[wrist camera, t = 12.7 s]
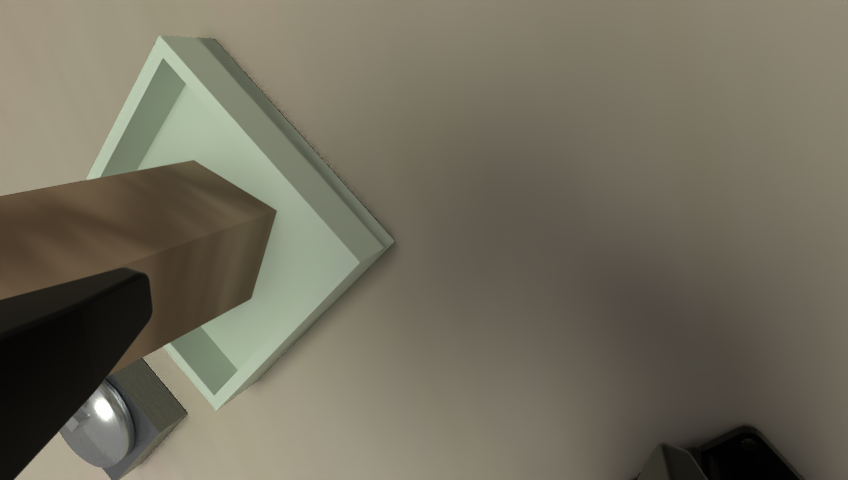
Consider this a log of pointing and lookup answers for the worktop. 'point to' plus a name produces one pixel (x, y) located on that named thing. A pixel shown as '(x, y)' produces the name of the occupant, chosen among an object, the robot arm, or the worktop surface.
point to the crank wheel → (101, 428)
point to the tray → (262, 178)
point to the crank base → (144, 413)
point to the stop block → (141, 242)
